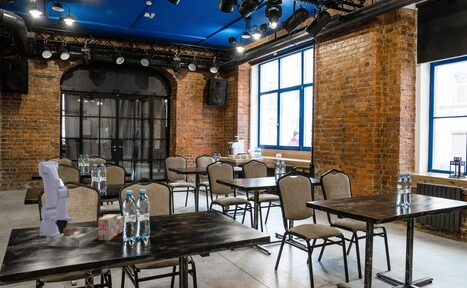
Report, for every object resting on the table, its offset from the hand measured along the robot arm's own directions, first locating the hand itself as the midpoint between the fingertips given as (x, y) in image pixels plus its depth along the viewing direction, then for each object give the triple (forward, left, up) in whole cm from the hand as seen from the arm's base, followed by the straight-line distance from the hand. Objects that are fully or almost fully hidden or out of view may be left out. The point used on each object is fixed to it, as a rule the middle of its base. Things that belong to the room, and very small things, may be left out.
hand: (62, 233), depth 209 cm
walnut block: (+4, 0, -1) cm, 4 cm away
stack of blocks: (+22, +15, -4) cm, 27 cm away
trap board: (+7, 0, -4) cm, 8 cm away
